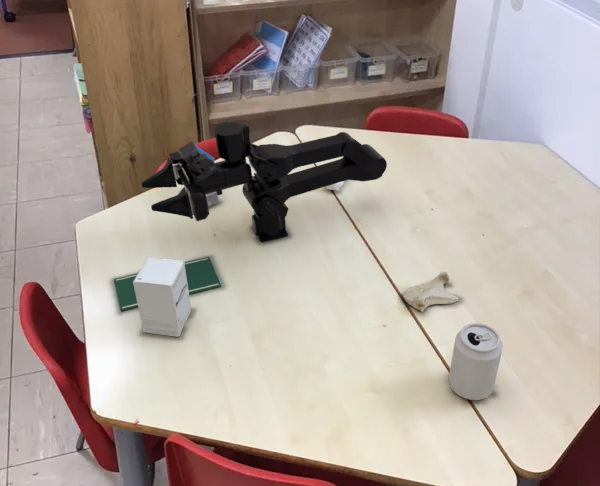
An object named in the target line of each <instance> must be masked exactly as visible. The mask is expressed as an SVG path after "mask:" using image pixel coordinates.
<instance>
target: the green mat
mask: <svg viewBox="0 0 600 486" xmlns="http://www.w3.org/2000/svg"><path fill="white" fill-rule="evenodd" d="M184 264H185V271H186V277H187V284H188V291H189V296H190V295H195V294H199V293H202V292H206V291H207V292H208V291H210V290H214V289H215V290H216V289H218V288H222V284H221V282H220V280H219V276H218V275H217V272H216V269H215V267H214V265H213V262H212V260H211V258H210V256H205V257H201V258H197V259H193V260H188V261H184ZM138 273H139V272H138ZM138 273H133V274H129V275H125V276H121V277H116V278H113V281H114V285H115V290H116V295H117V299H118V304H119V308H120V312H121V313H122V312H125V311H130V310H134V309H138V304H137V299H136V294H135V289H134V284H133V281H134V280H135V278H136V276H137V275H138Z"/></svg>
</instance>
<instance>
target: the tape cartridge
mask: <svg viewBox="0 0 600 486" xmlns="http://www.w3.org/2000/svg"><path fill="white" fill-rule="evenodd" d="M194 145H195V146H196V148H197V149H198V151H199V152H200V154H201V155H202V154H206V155H207V157H208V159H211V160H212V161H213V162H214V163H216V162H215V157H214V156H212V155H211V154H209V153H208V152H206V151H205V150H203V149H202V148H200V147H199V146H197V145H196V144H194ZM186 191H187V190H186ZM187 193H188V192H187ZM206 198H207V203H208V209H209V208H211V207H213V206H215V205H217V204H219V195H217V193H216V192H214V193H210V194H206Z"/></svg>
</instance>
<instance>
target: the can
mask: <svg viewBox="0 0 600 486" xmlns="http://www.w3.org/2000/svg"><path fill="white" fill-rule="evenodd" d="M503 348H504V345H503V341H502V339H501V336H500V333H499V332H498V331H497V329H495V328H494V327H492V326H490V325H488V324H485V323H483V322H472V323H468V324H466V325H464V326H463V327H462V328H461V329H460V330H459V331H458V332H457V333H456V336H455V339H454V343H453V350H452V356H451V362H450V367H449V368H450V369H449V375H448V383H449V386H450V388H451V390H452V391H453V392H454V393H455V394H456V395H458V396H459V397H462V398H463V399H466V400H470V401H479V400H484V399H486V398H488V397H489V396H491V394H492V393H493V392H494V390H495V389H494V388H495V384H496V380H497V375H498V371H499V366H500V363H501V357H502V354H503Z"/></svg>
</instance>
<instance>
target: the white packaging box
mask: <svg viewBox="0 0 600 486" xmlns="http://www.w3.org/2000/svg"><path fill="white" fill-rule="evenodd" d="M184 262H185V261H184V260H178V259H170V258H160V257H159V258H158V257H152V256H148V257H147V258H146V259H145V261H144V263H143V264H142V266H141V268H140V269H139V271H138V275H137V276H136V278H135V280H134V281H133V284H134V289H135V294H136V299H137V304H138V308H137V309H138V313H139V317H140V322H141V327H142V332H143V333H147V334H153V335H155V334H156V335H162V336H169V337H174V338H175V337H177V338H179V337H180V336H181V333H182V332H183V329H184V327H185V324H186V322H187V320H188V318H189V316H190V314H191V312H192V306H191V298H190V295H189V291H188V284H187V277H186V271H185V264H184Z"/></svg>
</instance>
